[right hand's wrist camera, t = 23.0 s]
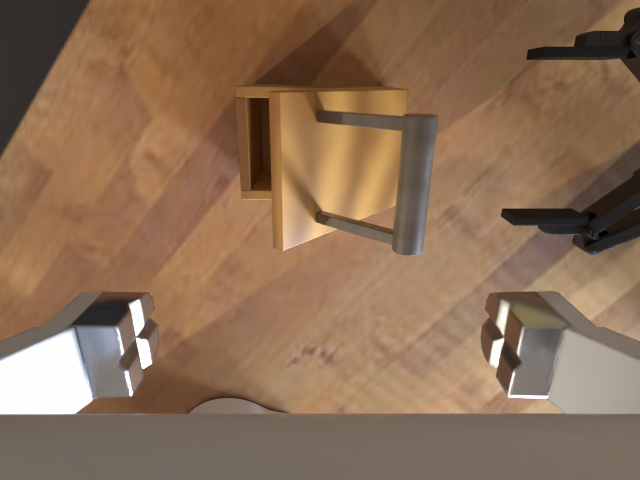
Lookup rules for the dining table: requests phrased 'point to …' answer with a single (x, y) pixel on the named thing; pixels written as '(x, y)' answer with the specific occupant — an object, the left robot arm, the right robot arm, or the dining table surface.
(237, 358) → the dining table surface
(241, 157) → the chest
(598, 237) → the left robot arm
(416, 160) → the lid
